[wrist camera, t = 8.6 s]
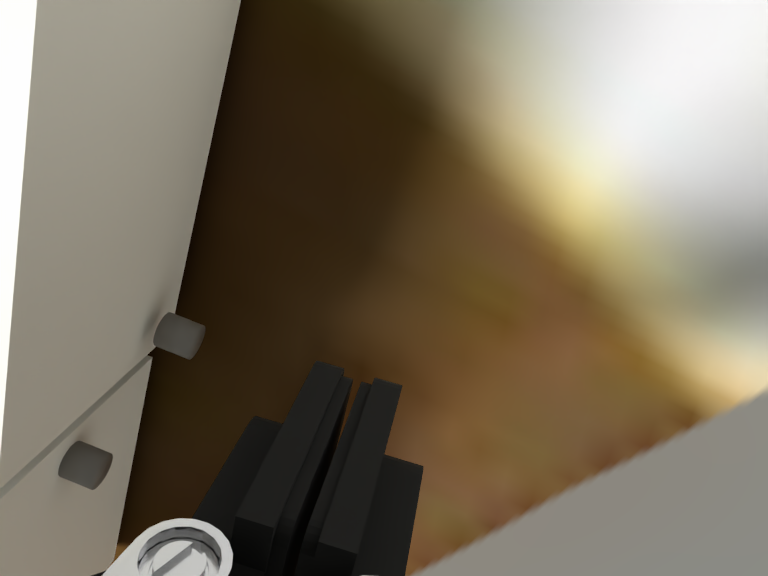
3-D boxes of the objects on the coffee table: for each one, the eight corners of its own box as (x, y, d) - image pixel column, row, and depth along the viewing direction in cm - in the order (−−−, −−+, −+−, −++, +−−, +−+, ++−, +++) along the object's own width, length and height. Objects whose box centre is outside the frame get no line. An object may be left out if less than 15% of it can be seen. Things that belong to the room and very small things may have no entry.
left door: (218, -68, 15) (-54, -145, 8) (312, -34, 15) (122, -79, 8) (145, 317, 20) (-68, 489, 13) (217, 345, 20) (42, 536, 13)
